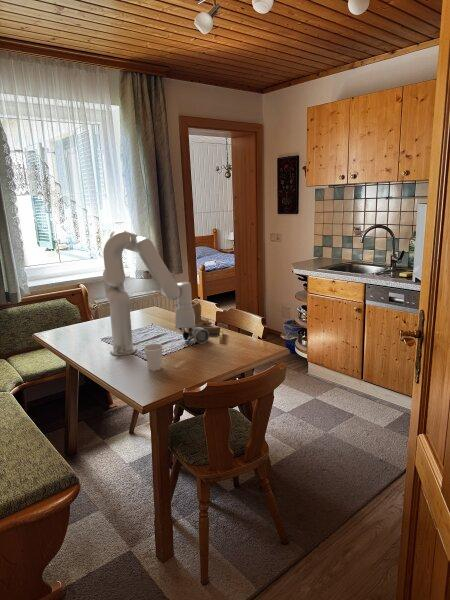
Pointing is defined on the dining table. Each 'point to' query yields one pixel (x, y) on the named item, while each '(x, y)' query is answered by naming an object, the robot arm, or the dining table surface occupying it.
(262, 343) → the dining table surface
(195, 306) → the tan boot
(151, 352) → the dixie cup
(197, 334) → the ceramic mug
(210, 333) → the trap box
